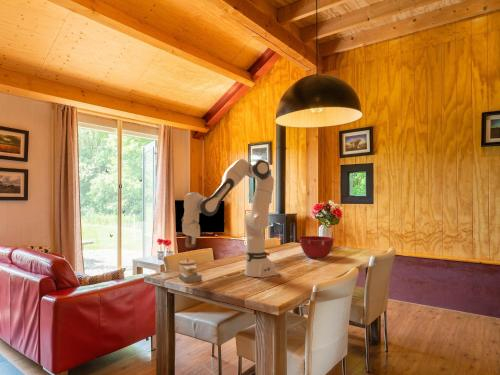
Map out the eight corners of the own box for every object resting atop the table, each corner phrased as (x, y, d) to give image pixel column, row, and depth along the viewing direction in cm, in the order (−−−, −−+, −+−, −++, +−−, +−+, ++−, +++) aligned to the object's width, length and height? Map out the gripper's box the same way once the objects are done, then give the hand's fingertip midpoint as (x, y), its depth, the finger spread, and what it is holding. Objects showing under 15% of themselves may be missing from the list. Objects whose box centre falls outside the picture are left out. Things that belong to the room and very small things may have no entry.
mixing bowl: (292, 254, 270) (292, 236, 270) (322, 253, 279) (322, 235, 279) (308, 261, 243) (308, 241, 243) (341, 259, 252) (341, 239, 252)
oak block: (193, 272, 193) (193, 265, 193) (197, 274, 188) (197, 267, 188) (183, 273, 190) (183, 266, 190) (187, 275, 185) (187, 268, 185)
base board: (195, 276, 196) (195, 271, 196) (201, 280, 187) (201, 275, 187) (179, 278, 191) (179, 273, 191) (184, 282, 182) (184, 277, 182)
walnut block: (193, 245, 193) (193, 235, 193) (196, 247, 188) (196, 236, 188) (185, 246, 190) (185, 236, 190) (188, 247, 186) (188, 237, 186)
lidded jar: (179, 276, 194) (179, 261, 195) (178, 272, 205) (178, 257, 205) (197, 275, 197) (197, 260, 197) (195, 271, 208) (195, 257, 208)
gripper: (203, 221, 182) (202, 245, 182) (190, 218, 200) (190, 240, 200) (192, 221, 179) (191, 246, 179) (180, 218, 197) (180, 241, 196)
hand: (190, 243), depth 189 cm, fingers closed on walnut block, 5 cm apart
